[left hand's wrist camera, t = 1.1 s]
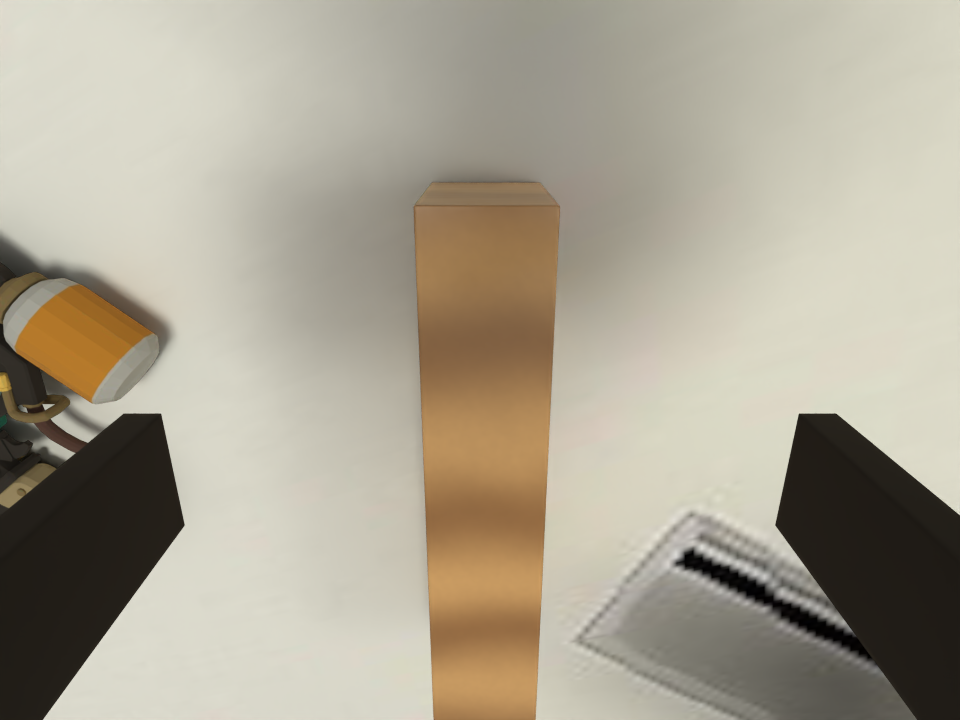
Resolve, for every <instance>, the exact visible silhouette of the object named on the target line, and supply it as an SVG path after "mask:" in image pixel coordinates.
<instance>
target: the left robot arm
mask: <svg viewBox="0 0 960 720" xmlns="http://www.w3.org/2000/svg"><path fill="white" fill-rule="evenodd" d="M183 527H184V520H183V515H182V510H181V506H180V501H179V496H178V491H177V487H176V482H175V477H174V473H173V468H172V463H171V458H170V454H169V449H168V444H167V439H166V435H165V430H164V425H163V421H162V416H161V414H123V415H122V416H120V417H119V418H118V419H117V420H116V421H114V422H113V423H112V424H111V425H109V426H108V427H107V428H106V429H105V430H103V431H102V432H101V433H100V434H99V435H97V436H96V437H95V438H94V439H92V440H91V441H90V442H89V443H88V444H86V445H85V446H84V447H83V448H82V449H80V450H79V451H78V452H77V453H75V454H74V455H73V456H72V457H71V458H69V459H68V460H67V461H66V462H65V463H63V464H62V465H61V466H60V467H58V468H57V469H56V470H55V471H54V472H52V473H51V474H50V475H49V476H48V477H46V478H45V479H44V480H43V481H41V482H40V483H39V484H38V485H37V486H35V487H34V488H33V489H32V490H31V491H29V492H28V493H27V494H26V495H24V496H23V497H22V498H21V499H20V500H18V501H17V502H16V503H15V504H13V505H12V506H11V507H10V508H9V509H7V510H6V511H5V512H4V513H3V514H1V515H0V720H43V719H44V717H45V716H46V715H47V713H48V712H49V710H50V709H51V708H52V706H53V705H54V704H55V702H56V701H57V699H58V698H59V697H60V695H61V694H62V693H63V691H64V690H65V689H66V687H67V686H68V684H69V683H70V682H71V680H72V679H73V678H74V676H75V675H76V673H77V672H78V671H79V669H80V668H81V667H82V665H83V664H84V662H85V661H86V660H87V658H88V657H89V656H90V654H91V653H92V652H93V650H94V649H95V647H96V646H97V645H98V643H99V642H100V641H101V639H102V638H103V636H104V635H105V634H106V632H107V631H108V630H109V628H110V627H111V625H112V624H113V623H114V621H115V620H116V619H117V617H118V616H119V615H120V613H121V612H122V610H123V609H124V608H125V606H126V605H127V604H128V602H129V601H130V599H131V598H132V597H133V595H134V594H135V593H136V591H137V590H138V588H139V587H140V586H141V584H142V583H143V582H144V580H145V579H146V578H147V576H148V575H149V573H150V572H151V571H152V569H153V568H154V567H155V565H156V564H157V562H158V561H159V560H160V558H161V557H162V556H163V554H164V553H165V551H166V550H167V549H168V547H169V546H170V545H171V543H172V542H173V541H174V539H175V538H176V536H177V535H178V534H179V532H180V531H181V530H182V528H183ZM776 527H777V528H778V530H779V531H780V532H781V534H782V535H783V536H784V538H785V539H786V541H787V542H788V543H789V545H790V546H791V547H792V549H793V550H794V551H795V553H796V554H797V556H798V557H799V558H800V560H801V561H802V562H803V564H804V565H805V567H806V568H807V569H808V571H809V572H810V573H811V575H812V576H813V578H814V579H815V580H816V582H817V583H818V584H819V586H820V587H821V588H822V590H823V591H824V593H825V594H826V595H827V597H828V598H829V599H830V601H831V602H832V604H833V605H834V606H835V608H836V609H837V610H838V612H839V613H840V615H841V616H842V617H843V619H844V620H845V621H846V623H847V624H848V625H849V627H850V628H851V630H852V631H853V632H854V634H855V635H856V636H857V638H858V639H859V641H860V642H861V643H862V645H863V646H864V647H865V649H866V650H867V652H868V653H869V654H870V656H871V657H872V658H873V660H874V661H875V662H876V664H877V665H878V667H879V668H880V669H881V671H882V672H883V673H884V675H885V676H886V678H887V679H888V680H889V682H890V683H891V684H892V686H893V687H894V689H895V690H896V691H897V693H898V694H899V695H900V697H901V698H902V699H903V701H904V702H905V704H906V705H907V706H908V708H909V709H910V710H911V712H912V713H913V715H914V716H915V717H916V719H917V720H960V515H959V514H957V513H956V512H955V511H954V510H953V509H951V508H950V507H949V506H948V505H947V504H945V503H944V502H943V501H942V500H940V499H939V498H938V497H937V496H936V495H934V494H933V493H932V492H931V491H929V490H928V489H927V488H926V487H925V486H923V485H922V484H921V483H920V482H919V481H917V480H916V479H915V478H914V477H912V476H911V475H910V474H909V473H908V472H906V471H905V470H904V469H903V468H902V467H900V466H899V465H898V464H897V463H895V462H894V461H893V460H892V459H891V458H889V457H888V456H887V455H886V454H885V453H883V452H882V451H881V450H880V449H878V448H877V447H876V446H875V445H874V444H872V443H871V442H870V441H869V440H868V439H866V438H865V437H864V436H863V435H861V434H860V433H859V432H858V431H857V430H855V429H854V428H853V427H852V426H851V425H849V424H848V423H847V422H846V421H844V420H843V419H842V418H841V417H840V416H838V415H837V414H799V416H798V421H797V425H796V430H795V435H794V439H793V444H792V449H791V454H790V458H789V463H788V468H787V473H786V477H785V482H784V487H783V491H782V496H781V501H780V506H779V510H778V515H777V520H776Z"/></svg>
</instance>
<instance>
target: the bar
mask: <svg viewBox="0 0 960 720" xmlns="http://www.w3.org/2000/svg"><path fill="white" fill-rule="evenodd" d="M559 217H560V206H559V205H558V203H557V202H556V201H555V200H554V199H553V198H552V196H551V195H550V194H549V193H548V192H547V190H546V189H545V188H544V187H543V186H542V185H541V183H431V184H430V186H429V187H428V188H427V190H426V191H425V192H424V193H423V195H422V196H421V197H420V199H419V200H418V201H417V203H416V204H415V205H414V230H415V256H416V281H417V307H418V333H419V358H420V384H421V409H422V435H423V460H424V486H425V511H426V537H427V562H428V588H429V613H430V639H431V664H432V690H433V715H434V720H536V699H537V678H538V657H539V636H540V615H541V594H542V573H543V552H544V531H545V510H546V489H547V468H548V447H549V426H550V405H551V384H552V363H553V342H554V321H555V301H556V280H557V259H558V238H559Z"/></svg>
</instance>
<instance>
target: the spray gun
mask: <svg viewBox="0 0 960 720" xmlns="http://www.w3.org/2000/svg"><path fill="white" fill-rule="evenodd" d="M158 354H159V342H158V337H157V335H156V334H154V333H153V332H151V331H150V330H148V329H147V328H145V327H144V326H142V325H141V324H139V323H138V322H137V321H135V320H134V319H132V318H131V317H129V316H128V315H126V314H125V313H123V312H122V311H120V310H119V309H117V308H116V307H114V306H113V305H111V304H110V303H108V302H107V301H105V300H104V299H102V298H101V297H100V296H98V295H97V294H95V293H94V292H92V291H91V290H89V289H88V288H86V287H85V286H83V285H81V284H78V283H76V282H73V281H70V280H68V279H65V278H59V279H50V280H49V279H48V278H46V277H45V276H43V275H42V274H40V273H38V272H33V273H28V274H25V275H23V276H21V277H18V278H16V276H15V275H14V274H13V273H12V272H11V271H10V270H9V269H8V268H7V267H6V266H5V265H3V264H2V263H1V262H0V428H1V427H2V426H4V425H5V424H6V423H7V418H6V414H7V413H8V414H9V415H10V416H11V418H13V419H15V420H17V421H21V422H26V423H34V424H35V425H36V426H37V427H38V429H39V430H40V431H41V432H42V433H43V434H45V435H46V436H47V437H48V438H49V439H51V440H52V441H54V442H56V443H57V444H59V445H61V446H63V447H64V448H66V449H68V450H70V451H72V452H75V453H77V452H78V451H79V450H80V449H82V448H83V447H84V446H85V445H86V444H88V443H86V442H84V441H81V440H79V439H77V438H76V437H74V436H72V435H70V434H68V433H66V432H65V431H64V430H62V429H61V428H60V427H58V426H57V425H56V424H55V423H53V422H52V420H51V418H53V417H54V416H56V415H58V414H59V413H61V412H62V411H63V410H64V409H65V408H66V407H67V406H68V405H70V400H69V399H68V398H67V397H65V396H64V395H47V394H46V390H45V387H44V383H43V380H42V376H41V372H40V369H41V370H43V371H44V372H46V373H47V374H49V375H50V376H52V377H53V378H55V379H56V380H58V381H59V382H61V383H62V384H64V385H65V386H67V387H68V388H70V389H71V390H73V391H74V392H76V393H77V394H79V395H80V396H82V397H83V398H85V399H86V400H88V401H89V402H91V403H93V404H101V403H107V402H112V401H117V400H119V399H121V398H122V397H123V396H124V395H125V394H126V393H128V392H129V391H130V390H131V389H132V388H133V387H134V386H135V385H136V383H137V382H138V381H139V380H140V379H141V378H142V377H143V376H144V374H145V373H146V372H147V371H148V369H149V368H150V367H151V365H152V364H153V363H154V361H155V359H156V358H157V356H158ZM39 368H40V369H39ZM42 404H55V405H54V406H52V407H50V408H49V409H47V410H44V407H43V405H42ZM19 405H23V407H26V408H27V411H28V413H26V412H22V411H20V410H19V409H18V407H17V406H19ZM32 445H33V443H32V442H30V441H29V440H27V441H26V442H18V441H16V440H15V439H13V438H12V437H11V436H9V434H8V433H7V432H6V431H5V430H2V431H0V515H1V514H3V513H4V512H5V511H6V510H7V509H9V508H10V507H11V506H12V505H13V504H15V503H16V502H17V501H18V500H20V499H21V498H22V497H23V496H24V495H26V494H27V493H28V492H29V491H31V490H32V489H33V488H34V487H35V486H37V485H38V484H39V483H40V482H41V481H43V480H44V479H45V478H46V477H48V476H49V475H50V474H51V473H52V472H54V471H55V470H56V468H54V467H52V466H50V465H48V464H45V463H40V464H37V463H38V462H39V461H40V460H41V457H40V454H36V453H32V454H31V455H30V456H29V457H27V458H26V459H25V460H23V461H22V462H20V461H19V460H21V459H22V458H23V457H24V456H25V455H26V454H27V453H28V452H29V450H30V449H31V447H32Z"/></svg>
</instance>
